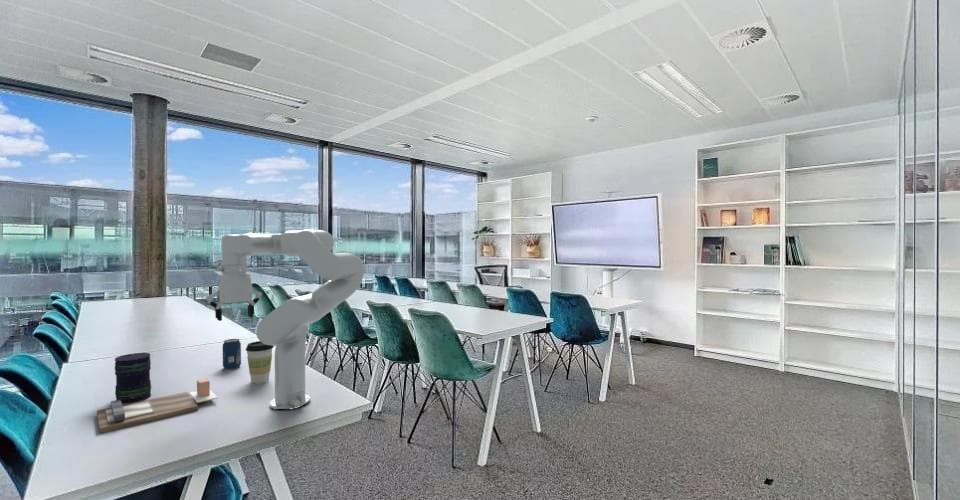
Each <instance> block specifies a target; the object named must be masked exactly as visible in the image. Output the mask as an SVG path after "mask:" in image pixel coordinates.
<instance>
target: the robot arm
mask: <svg viewBox="0 0 960 500" xmlns="http://www.w3.org/2000/svg"><path fill="white" fill-rule="evenodd" d="M334 245H335V239H334V237H333V235H332V234H331V233H330V232H328V231H326V230H323V229H322V230H321V229H302V230H287V231H285V232H284V233H242V234H223V236H222V237H221V265H220V266H218V267H216V268H217V269H216V271H217V272H221V273H220V274H219V278H218V283H217V290H216V291H215V292H213V293H211V294H209V295H207V296H205V299H206V301H207V303H208V304H209V305H210V306H211V307H213V308H214V309H215V313H214V314H215V317H214V318H215V319H216V320H217V321H219V322H221V321H223V316H222V315H223V310H222V308H221V307H222V306H223V305H224V304H235V303H245V302H247V303H248V305H247V317H250V318H253V317H254V316H253V315H255V306H256V304H257V303H258V302H259V301H260V299H261V298H262V295H263V292H261V291H258V290H256V289H253V284H252V278H251V274H250V273H248V262H247V261H248V259H247V258H248V257H249V256H268V255H269V256H270V255H271V256H273V255H274V256H275V255H285V256H286V257H299V258H300V259H301V260H302V261H303V262H304V263H305V264H306V265H307V266H308V267H309V268H310V269H311V270H312V271H313V272H314V273H315V274H316V275H318V277H320V278H321V279H323V280H326V282H324V283H323V284H322V285H320V286H319V287H318V288H316V289H315V290H313V291H312V292H310V293H308V294H303V295H299V296H295V297H292V298H290V299H287V300H286V301H284V302H282V303H281V304H280V305H278V306H277V307H276V308H275V309H273V310H272V311H270V312H269V313H268V314H267V315H265V316H264V317H263V318H262V319H261V320H260V321H259V322H258V325H257V326H256V332H255V333H256V337H257V339H258V341H260V342H262V343H263V344H266V345H273V346H275V348H274V398H273V399H272V400H271V401H270V402H269V408H271V409H272V408H273V409H272V410H275V409H290V408H295V407H298V406H301V405H304V404H306V403H308V402H309V401H311V396H310V395H309V394H306V340H307V335H308V328H309V327H308V326H309V325H311V324H313V323H314V324H315V323H316V322H318V321H321V320H322V318H324V317H325V316H326V315H327V314H329V313H330V312H332V311H333V310H334V309H336V307H338V306H339V305H341V304H342V303H343V302H344V301H346V300H347V299H348V298H350V297H351V296H352V295H353V294H355V292H356V291H357V290H358V288H359V287H360V286H361V283H362V282H363V278H364V271H365V270H364V267H365V266H364V263H363V261H362V259H361V258H360V257H359V256H357V254H354V253H351V252H337V253H335V252H334V253H333V251H332V250H333V249H334ZM253 295H255V297H254V298H253ZM215 297H217V301H216V302H214V300H213V299H214V298H215ZM309 403H310V402H309ZM309 403H308V404H309ZM306 405H307V404H306Z"/></svg>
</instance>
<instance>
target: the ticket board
mask: <svg viewBox="0 0 960 500" xmlns="http://www.w3.org/2000/svg"><path fill="white" fill-rule="evenodd" d="M198 411H199V406H198V403H197V402H196V401H195V400H194V399H193V397H192V396H191V395H190V393H188V392H187V391H184V392H180V393H174V394H170V395H165V396H160V397H156V398H155V397H154V398H151V399H149V398H148V399H145V400H142V401H139V402H135V403H128V404H122V403H121V400H116V399H115V400H112V401H110V407H107V408H102V409H97V410H96V418H97V423H98V429H99V434H103V433H108V432H113V431H116V430H120V429H124V428H129V427H133V426H137V425H141V424H142V425H143V424H145V423H147V424H148V423H150V422H154V421H159V420H162V419H167V418H171V417H172V418H173V417H177V416H181V415H185V414H187V413H188V414H189V413H193V412H198Z"/></svg>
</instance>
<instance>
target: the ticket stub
mask: <svg viewBox="0 0 960 500" xmlns="http://www.w3.org/2000/svg"><path fill="white" fill-rule="evenodd" d="M210 382H211V381H210V380H209V379H208V378H201V379H196V390H195V391H191V392H189V395H190V396H191V398H192V399H193V400H194V401H195V403H196V404H199V403H203V402H207V401H212V400H216V399H218V398H219V397H218V396H217V395H216V394H215V393H214V392H213V391H212V389H210V385H211V384H210Z"/></svg>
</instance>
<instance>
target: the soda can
mask: <svg viewBox="0 0 960 500" xmlns="http://www.w3.org/2000/svg"><path fill="white" fill-rule="evenodd" d="M241 364H242V342H241V341H240V338H228V339H225V340H224V341H223V344H222V367H223V369H225V370H234V369H235V370H236V369H239V368H240V366H241Z"/></svg>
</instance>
